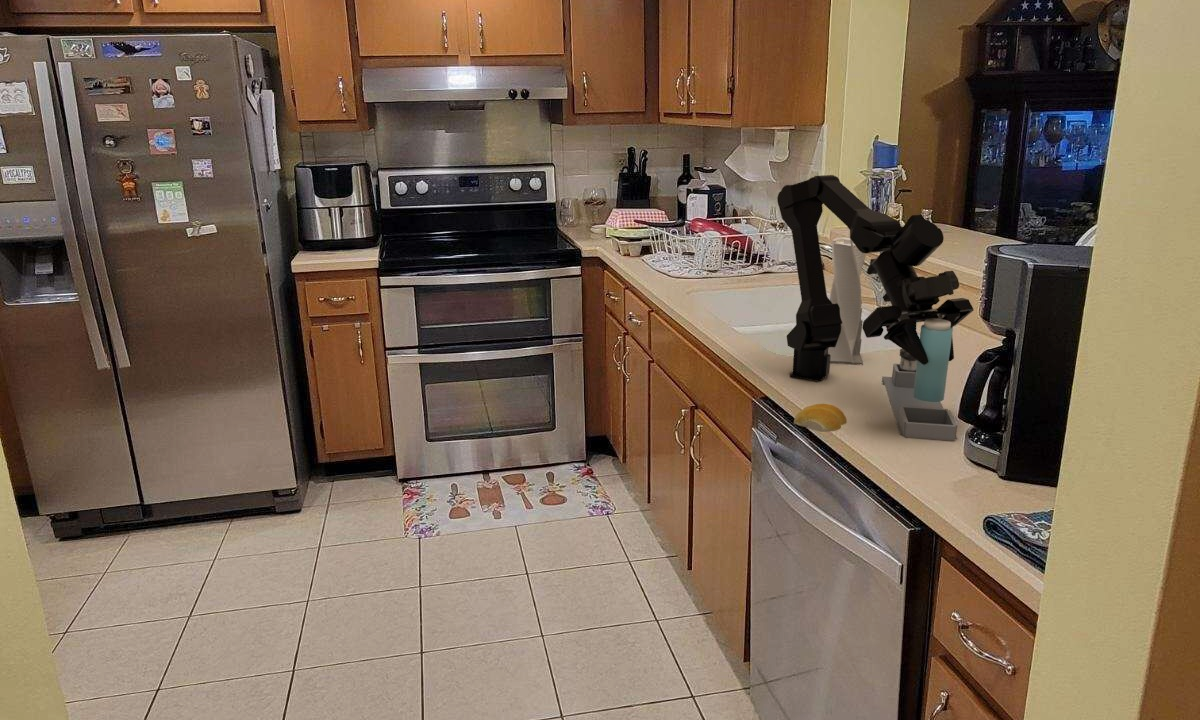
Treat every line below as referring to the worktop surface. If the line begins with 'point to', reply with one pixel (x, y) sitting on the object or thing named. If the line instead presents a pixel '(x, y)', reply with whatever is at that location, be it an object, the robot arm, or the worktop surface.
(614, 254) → the worktop surface
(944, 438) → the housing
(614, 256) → the worktop surface
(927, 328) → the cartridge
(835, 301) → the skyscraper
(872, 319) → the robot arm
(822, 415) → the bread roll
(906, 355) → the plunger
